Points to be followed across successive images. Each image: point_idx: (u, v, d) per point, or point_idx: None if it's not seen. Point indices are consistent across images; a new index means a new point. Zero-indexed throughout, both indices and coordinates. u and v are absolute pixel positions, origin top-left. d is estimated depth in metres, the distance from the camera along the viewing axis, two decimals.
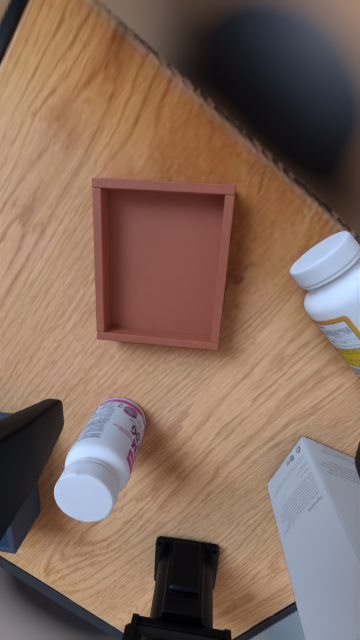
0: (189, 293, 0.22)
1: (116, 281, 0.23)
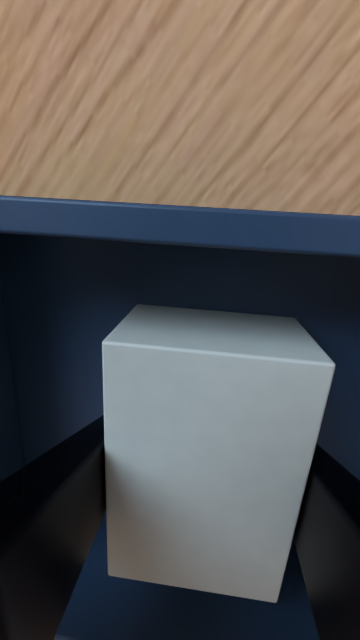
0: None
1: None
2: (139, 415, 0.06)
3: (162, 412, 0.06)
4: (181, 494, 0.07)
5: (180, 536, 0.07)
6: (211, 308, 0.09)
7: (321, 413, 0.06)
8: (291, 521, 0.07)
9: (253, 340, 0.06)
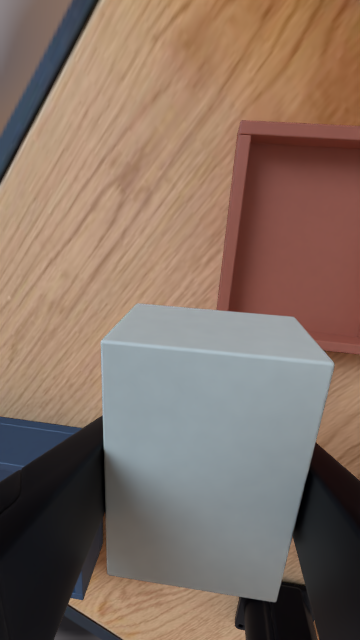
0: (337, 281, 0.17)
1: (240, 265, 0.18)
2: (138, 415, 0.06)
3: (161, 412, 0.06)
4: (180, 493, 0.07)
5: (179, 535, 0.07)
6: None
7: (320, 412, 0.06)
8: (290, 521, 0.07)
9: (252, 339, 0.06)
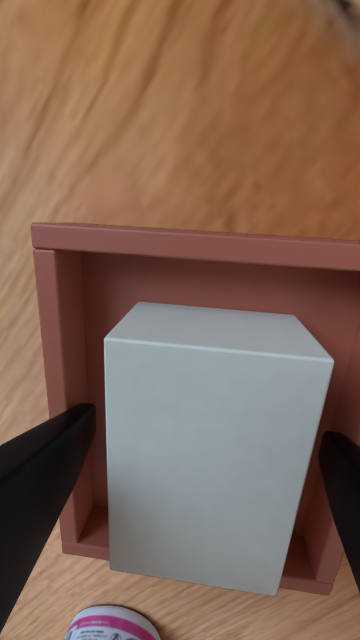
0: None
1: (103, 430, 0.11)
2: (140, 411, 0.06)
3: (163, 408, 0.06)
4: (182, 489, 0.07)
5: (181, 530, 0.07)
6: None
7: (320, 408, 0.06)
8: (291, 515, 0.07)
9: (253, 337, 0.07)
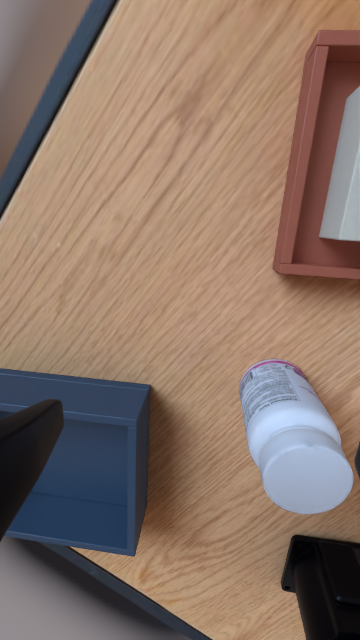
0: None
1: (304, 197, 0.17)
2: None
3: None
4: None
5: None
6: None
7: None
8: None
9: None
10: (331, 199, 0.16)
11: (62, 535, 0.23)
